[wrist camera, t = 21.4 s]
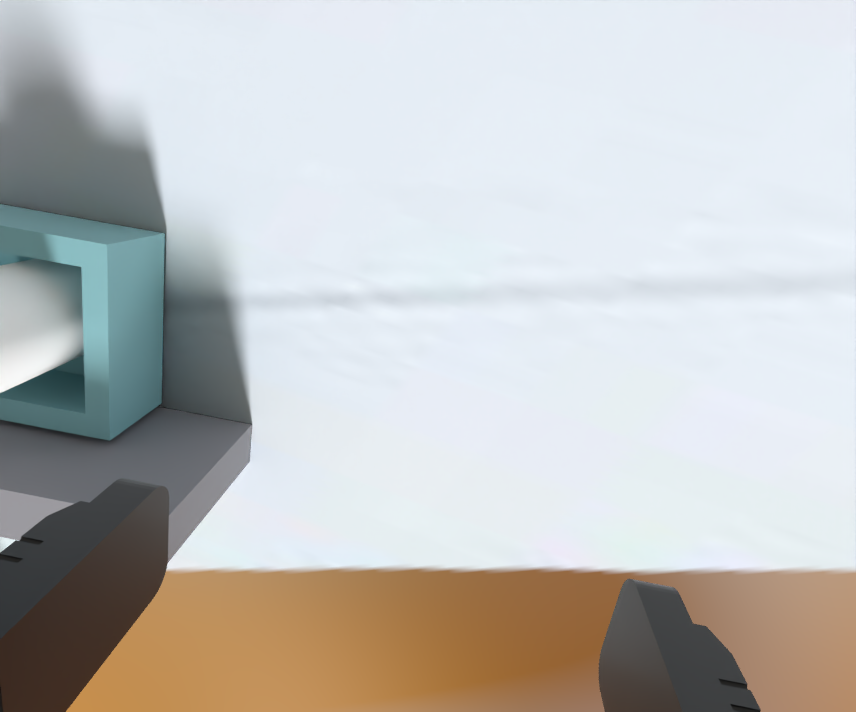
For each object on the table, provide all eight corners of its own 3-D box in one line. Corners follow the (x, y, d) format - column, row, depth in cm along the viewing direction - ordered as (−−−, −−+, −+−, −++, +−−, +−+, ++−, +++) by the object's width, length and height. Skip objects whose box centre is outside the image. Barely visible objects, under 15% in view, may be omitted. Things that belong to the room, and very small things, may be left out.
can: (50, 356, 39) (-125, 431, 28) (13, 263, 38) (-191, 303, 26) (136, 341, 39) (-9, 412, 27) (102, 245, 37) (-69, 278, 25)
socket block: (-14, 201, 38) (-103, 206, 32) (164, 233, 37) (107, 244, 31) (-1, 372, 41) (-78, 404, 36) (161, 403, 41) (109, 440, 35)
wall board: (10, 378, 42) (-167, 455, 30) (252, 424, 41) (163, 521, 30) (12, 415, 43) (-159, 504, 31) (249, 461, 42) (162, 569, 31)
